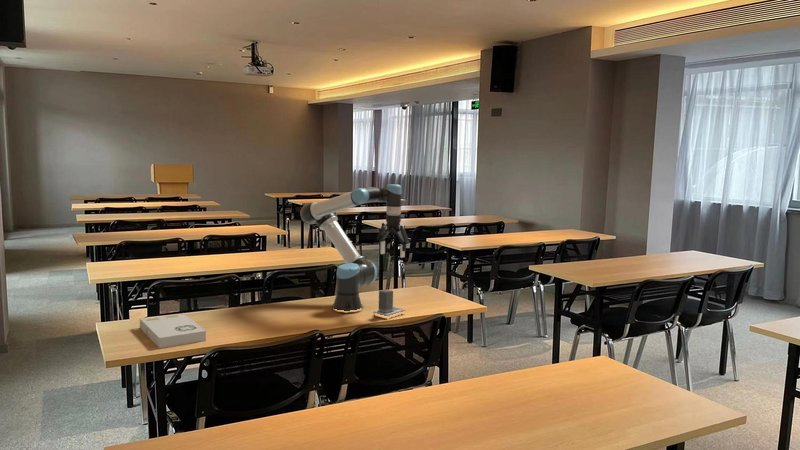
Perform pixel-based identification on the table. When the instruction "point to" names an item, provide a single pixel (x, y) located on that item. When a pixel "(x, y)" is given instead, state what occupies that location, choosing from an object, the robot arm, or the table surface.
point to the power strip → (395, 310)
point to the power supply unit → (173, 330)
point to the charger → (385, 301)
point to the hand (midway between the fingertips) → (392, 255)
